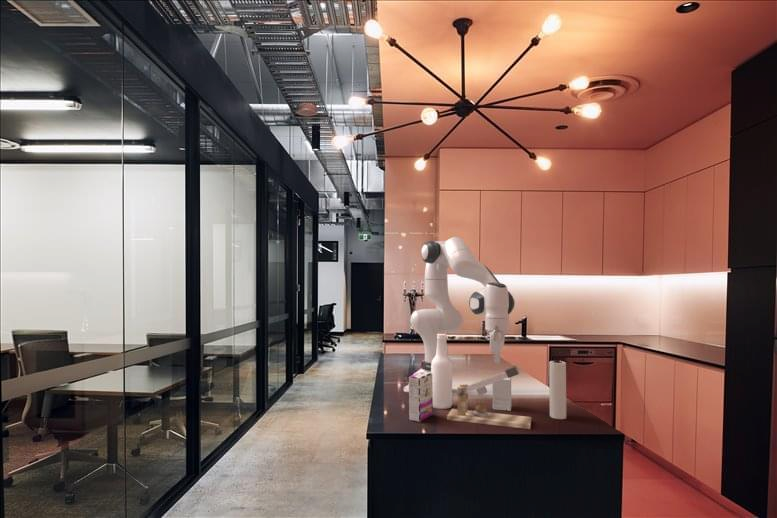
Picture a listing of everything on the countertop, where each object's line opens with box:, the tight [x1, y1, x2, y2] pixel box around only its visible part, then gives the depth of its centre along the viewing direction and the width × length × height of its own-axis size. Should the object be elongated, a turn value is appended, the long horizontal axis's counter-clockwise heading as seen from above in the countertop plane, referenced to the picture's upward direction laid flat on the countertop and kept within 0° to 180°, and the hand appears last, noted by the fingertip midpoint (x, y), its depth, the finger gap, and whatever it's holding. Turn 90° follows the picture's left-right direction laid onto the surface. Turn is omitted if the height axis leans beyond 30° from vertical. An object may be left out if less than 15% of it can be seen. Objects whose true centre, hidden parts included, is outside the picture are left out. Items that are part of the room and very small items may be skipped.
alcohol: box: [431, 333, 453, 410], centre depth 189 cm, size 9×9×30 cm
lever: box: [466, 365, 520, 397], centre depth 171 cm, size 24×4×5 cm, turn 72°
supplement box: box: [491, 377, 513, 412], centre depth 187 cm, size 7×7×13 cm
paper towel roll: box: [548, 360, 567, 420], centre depth 175 cm, size 7×6×21 cm
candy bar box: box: [408, 372, 434, 423], centre depth 173 cm, size 11×5×16 cm, turn 148°
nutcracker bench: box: [446, 383, 532, 430], centre depth 170 cm, size 30×10×12 cm, turn 70°
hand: (497, 362), depth 170 cm, fingers closed
